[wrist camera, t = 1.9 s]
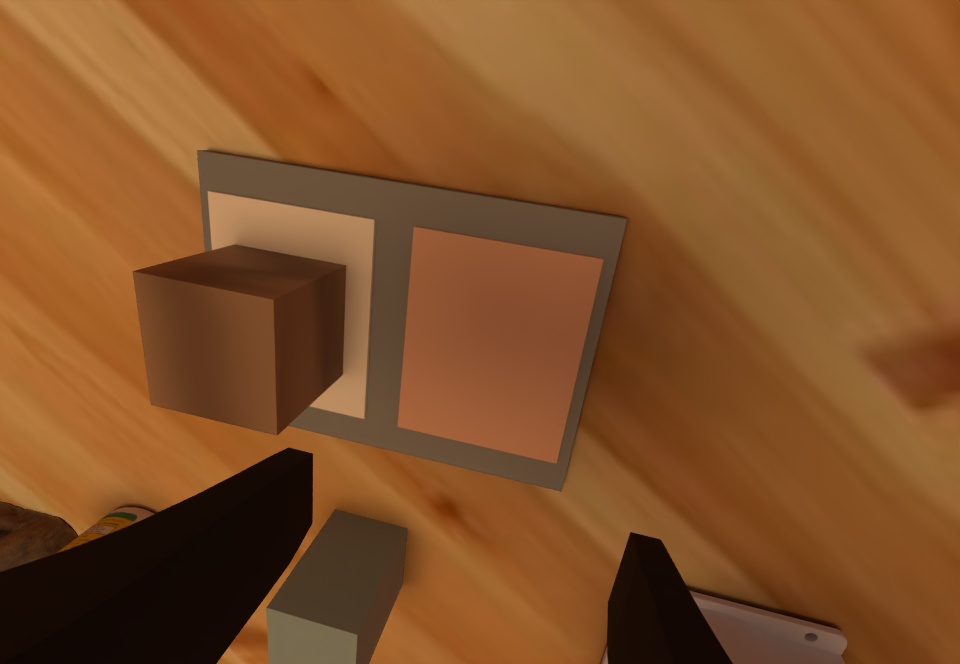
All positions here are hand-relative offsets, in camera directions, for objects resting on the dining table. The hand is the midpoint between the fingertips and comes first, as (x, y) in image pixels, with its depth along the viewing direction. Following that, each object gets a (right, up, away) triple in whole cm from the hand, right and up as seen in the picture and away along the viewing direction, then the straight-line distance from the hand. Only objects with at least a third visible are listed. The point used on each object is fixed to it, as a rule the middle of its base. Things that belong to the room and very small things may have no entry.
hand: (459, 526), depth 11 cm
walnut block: (-8, +5, +10) cm, 14 cm away
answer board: (-3, +5, +10) cm, 12 cm away
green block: (-5, -7, +15) cm, 18 cm away
